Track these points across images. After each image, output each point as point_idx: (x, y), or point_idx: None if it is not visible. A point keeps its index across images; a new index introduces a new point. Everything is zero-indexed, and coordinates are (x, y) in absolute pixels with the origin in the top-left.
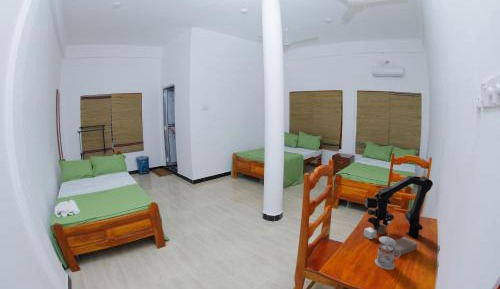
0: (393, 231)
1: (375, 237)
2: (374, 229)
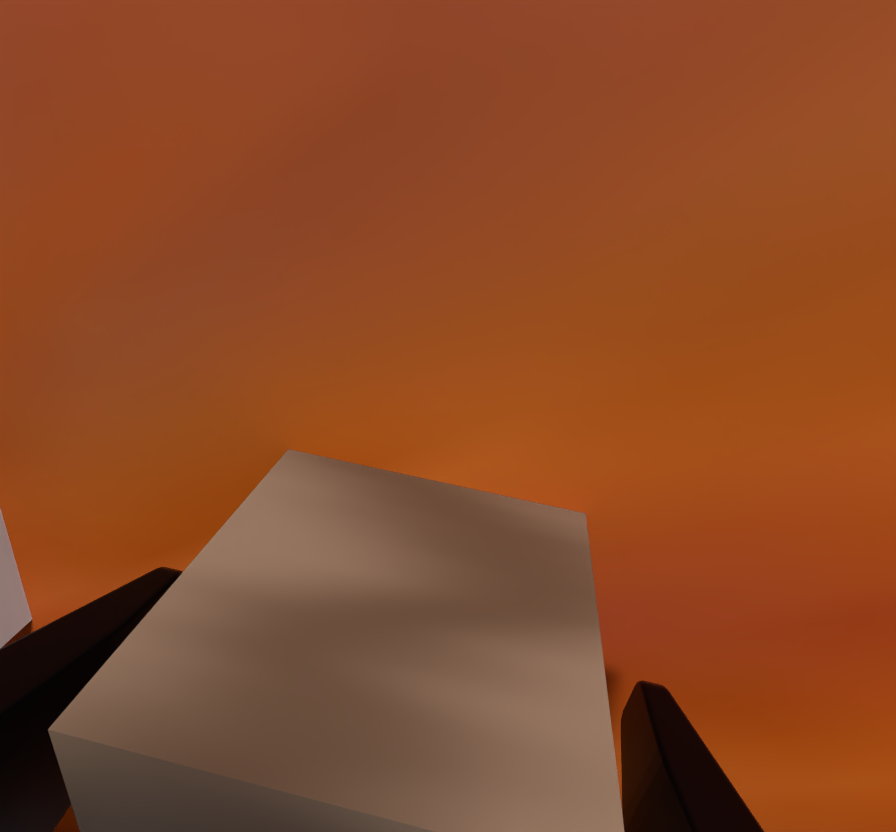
0: (798, 828)
1: (11, 622)
2: (78, 609)
